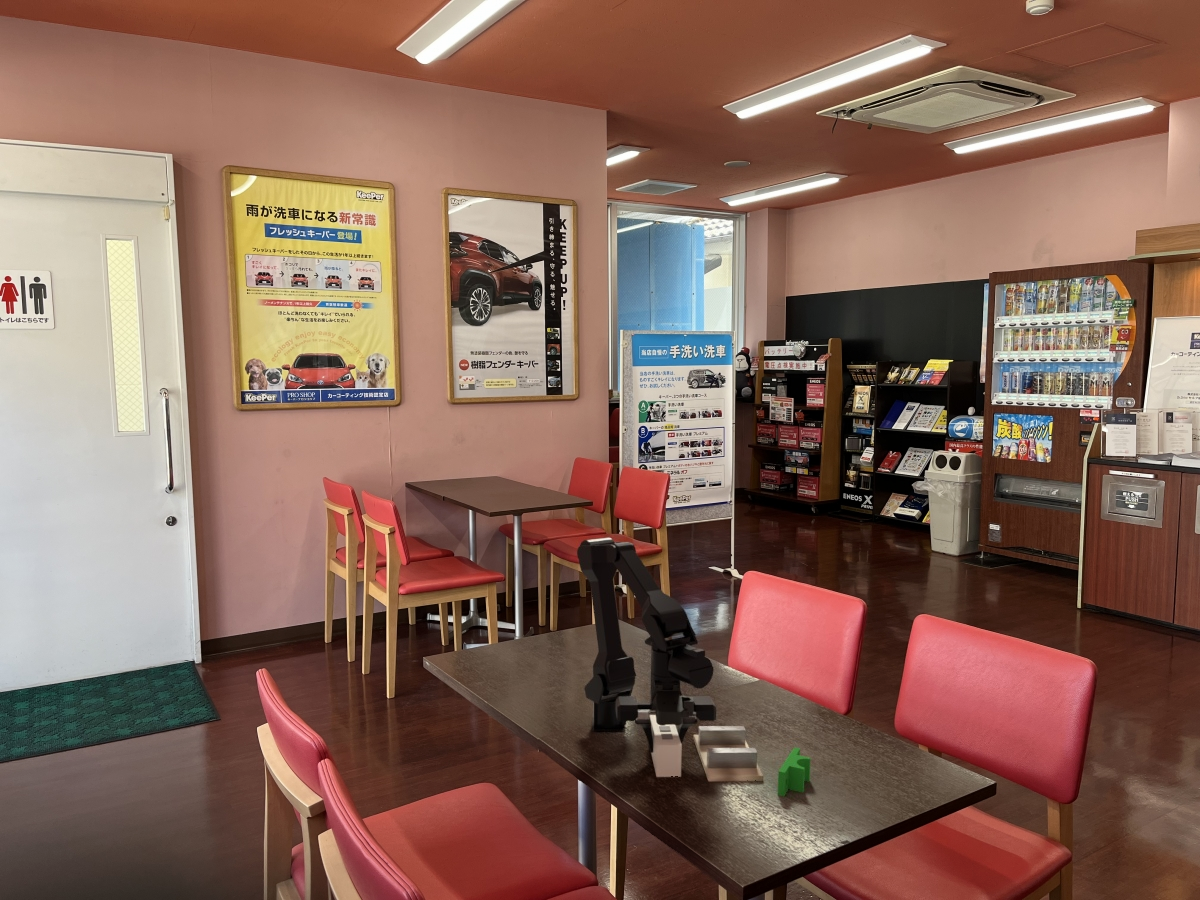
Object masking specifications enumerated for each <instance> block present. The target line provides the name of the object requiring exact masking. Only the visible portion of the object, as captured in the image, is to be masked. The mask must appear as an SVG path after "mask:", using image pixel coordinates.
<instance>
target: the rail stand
mask: <svg viewBox="0 0 1200 900" xmlns="http://www.w3.org/2000/svg"><path fill="white" fill-rule="evenodd" d="M746 733H747V730H746V728H745V726H744V725H712V726H711V725H707V726H706V725H705V726H704V725H702V726H701V725H699V726H698V734H693V743H694V744H695V745H694V746H695V747H696V750H697V753H698V756H699V759H700V761H701V762H700V763H701V764H702V768H703V770H704V773H705V775H706V778H707V779H706V780H707V781H708V782H764V775H763V773H762V771H761V769H760V766H759V764H758V751H757V749H756V747H749V744H748V743H747V741H746V737H747V735H746ZM747 780H748V781H747ZM755 780H756V781H755Z"/></svg>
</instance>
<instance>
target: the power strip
mask: <svg viewBox="0 0 1200 900" xmlns="http://www.w3.org/2000/svg"><path fill="white" fill-rule="evenodd" d="M650 720H651V729H652V738H653V753H651V752H650V754H651V759H652V762H653V767H654V772H655V776H656V778H676V777H675V776H678V777H677V778H679V777H680V778H681V777H682V751H683V750H682V748H683V747H682V745H681V741H680V738H679V735H678V732H677V725H659V724H657V722H656V714H650ZM671 776H673V777H671Z"/></svg>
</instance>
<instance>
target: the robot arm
mask: <svg viewBox="0 0 1200 900" xmlns="http://www.w3.org/2000/svg"><path fill="white" fill-rule="evenodd" d="M576 556H577V560H578V563H579V567H580V572H581V573H582V574H583V575H584V577H585V578H586V579H587V580H588V582H589V585H590V592H591V600H592V601H591V603H592V609H593V617H594V625H595V632H596V634H595V635H596V639H597V640H596V641H597V648H598V653H597V655H596V657H595V660H594V662H593V666H592V678H591V679H590V680H589V681H588V683H586V685H585V686H584V694H585V697H586V699H588V700H590V701H592V704H593V706H592V717H591V721H592V731H593V732H624V731H625V725H627V722H634V723H635V724H636V725H637V726H638V725H639V726H641V728H642V729H643V732H644V734H645V736H646V740H647V744H648V747H649V750H650V754H651V753H653V738H652V729H651V720H650V715H651V714H654V715H656V722H657V724H659V725H675V726H676V729H677V732H678V735H679V738H680V741H681V745H682V744H683V742H684V740H685V739H684V738H685V736H686V735H687V733H688V731H689V729H690V727H692V726H694V725H697V724H698V720H699V722H700V721H701V722H702V721H704V722H705V721H706V722H711V721H712V722H713V721H716V720H717V707H716V704H715V703H714V700H713V698H712V697H711V696H709V695H695V696H694V695H691V696H685V695H683V694H682V691H681V689H682V687H681V686H682V685H681V684H682V683H684V684H686V685H689V686H691V687H693V688H695V689H703V688H705V687H706V686H708V685H709V684H710V682H711V680H712V678H713V675H714V666H713V663H712V660H710V659H709V658H708V657H707V656H706V650H704V649H702V648H698V647H695V646H697V645H699V644H698V642H699V641H698V639H697V637H696V632H695V630H694V629H693V627H692V625H691V622H690V619H689V617H688V614H687V612H686V610H685V609H684V608H683V607H682V605H681V604H680V602H678V601H677V599H675V598H674V597H672V596H669V595H668V594H666V593H665V592H663V590H662V589H661V588H660V587H659V585H658V583H657V582H656V580H655V579H654V577H653V576H652V575H651V573H650V572H649V570H648V569H647V567H646V565H645V564H644V562H643V561H642V559H641V558H640V557H639V554H637V551H636V547H635V545H634V543H632V542H630V541H626V542H625V541H614V540H613V539H612V538H611V537H608V536H607V537H600V538H592V539H584V540H581V542H580V545H579V546H578V547H577V550H576ZM617 571H618V572H619V574H620V576H621V577H622V578H623V580H624V582H625V584H627V586H628V588H629V590H630V591H631V593H632V594H633V596H634V597H635V599H636V601H637V603H638V604H639V606H640V608H641V616H640V617H641V620H642V623H643V625H644V627H645V630H646V632H647V634H648V635H649V637H647V638H646V639H645V640H644V643H645V645H647V646H650V648H651V649H650V651H651V652H650V653H651V654H650V655H651V657H650V701H649V702H638V700H637V696H634V695H633V696H632V692H633V689H634V685H635V684H636V677H637V673H636V670H635V660H634V658H633V656H629V655H628V654H627V652H626V651H625V650H624V649H623V643H622V635H621V629H620V621H619V613H618V606H617V596H616V591H615V581H614V578H615V577H616V574H617ZM678 636H681V637H678ZM674 637H676V638H674ZM669 638H672V639H669Z"/></svg>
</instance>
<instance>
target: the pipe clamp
mask: <svg viewBox="0 0 1200 900" xmlns="http://www.w3.org/2000/svg"><path fill="white" fill-rule="evenodd" d="M811 760H812V759H811V757H809V756H804V755H801V748H800V747H795V746H794V747H793V749H792V750H791V752H790V753H789V755H788V756H787V758H785V761H784V762H783V764H782V766H781V767H780V768H779V769H778V773H777V774H778V777H777V779H778V781H777V782H778V783H777V796H779V795H781V796H780V797H783V796H784V797H785V796H786V794H787V793H788V792H789V791H793V790H794V791H793V792H797V791H799V792H798V793H801V792H803V793H804V791H805V782H804V781H807V782H806V783H810V781H811ZM788 789H790V790H788ZM786 792H787V793H786Z"/></svg>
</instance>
